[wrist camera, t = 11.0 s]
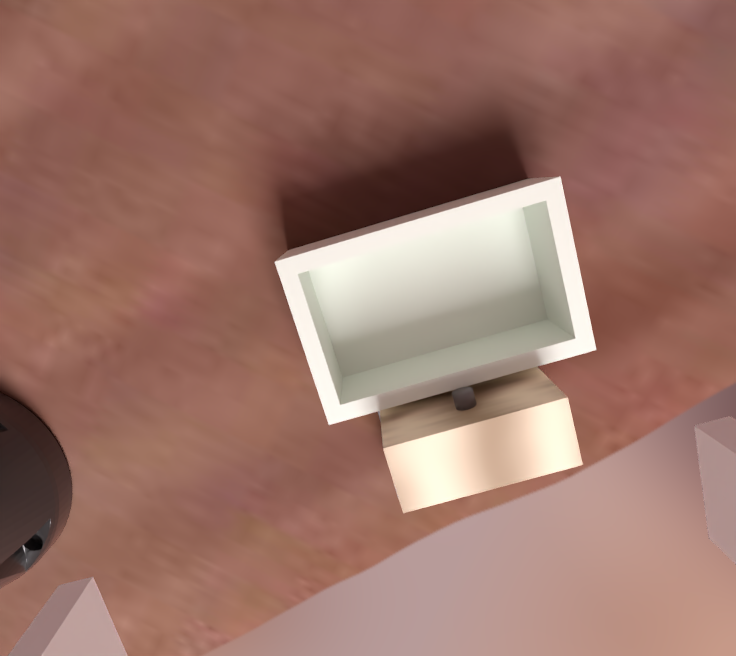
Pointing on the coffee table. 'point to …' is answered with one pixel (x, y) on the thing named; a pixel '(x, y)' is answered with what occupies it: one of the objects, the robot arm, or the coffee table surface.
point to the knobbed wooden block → (478, 438)
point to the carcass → (439, 298)
